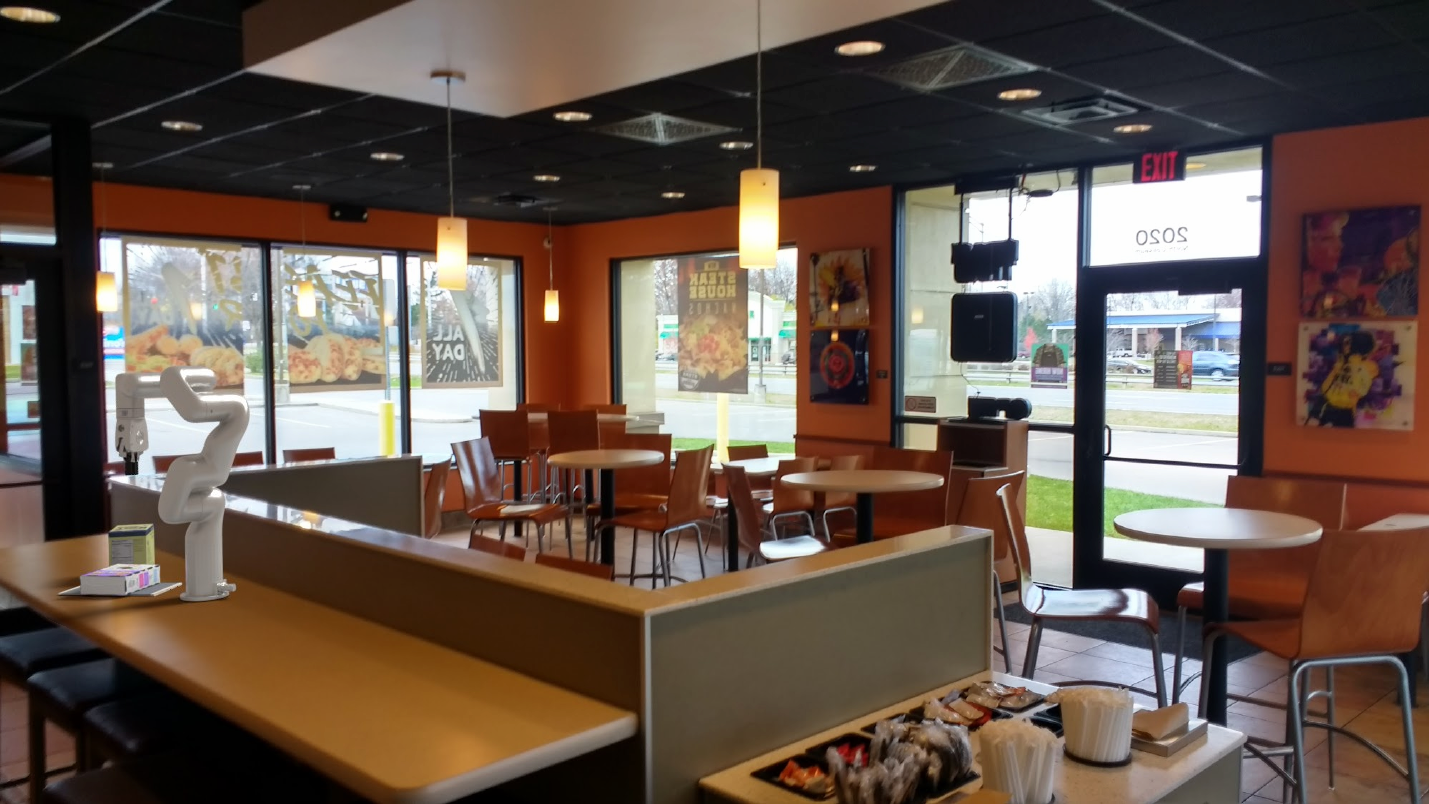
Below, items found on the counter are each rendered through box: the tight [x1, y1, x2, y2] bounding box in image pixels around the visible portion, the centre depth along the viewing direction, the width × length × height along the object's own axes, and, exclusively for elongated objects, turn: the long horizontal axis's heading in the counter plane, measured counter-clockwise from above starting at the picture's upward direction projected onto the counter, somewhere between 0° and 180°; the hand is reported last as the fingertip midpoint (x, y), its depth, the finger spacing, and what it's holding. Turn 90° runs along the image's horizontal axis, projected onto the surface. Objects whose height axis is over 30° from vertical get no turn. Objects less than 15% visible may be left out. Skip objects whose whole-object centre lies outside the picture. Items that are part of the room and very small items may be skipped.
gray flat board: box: [57, 582, 183, 597], centre depth 305 cm, size 28×15×1 cm, turn 89°
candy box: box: [79, 564, 161, 595], centre depth 304 cm, size 14×6×16 cm
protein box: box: [107, 523, 156, 567], centre depth 324 cm, size 10×16×16 cm
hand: (131, 475), depth 312 cm, fingers closed
